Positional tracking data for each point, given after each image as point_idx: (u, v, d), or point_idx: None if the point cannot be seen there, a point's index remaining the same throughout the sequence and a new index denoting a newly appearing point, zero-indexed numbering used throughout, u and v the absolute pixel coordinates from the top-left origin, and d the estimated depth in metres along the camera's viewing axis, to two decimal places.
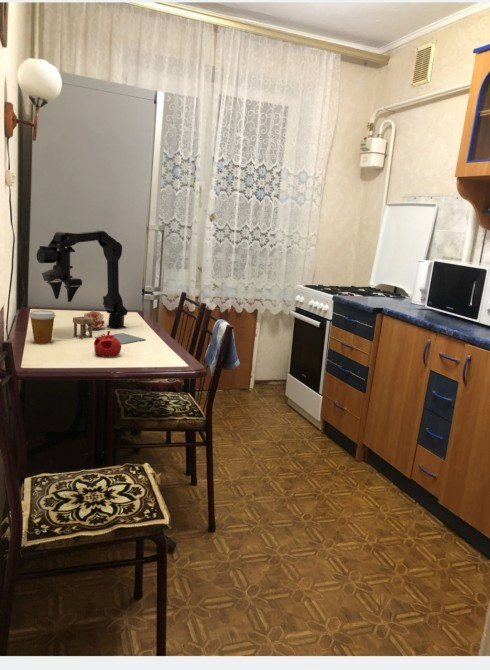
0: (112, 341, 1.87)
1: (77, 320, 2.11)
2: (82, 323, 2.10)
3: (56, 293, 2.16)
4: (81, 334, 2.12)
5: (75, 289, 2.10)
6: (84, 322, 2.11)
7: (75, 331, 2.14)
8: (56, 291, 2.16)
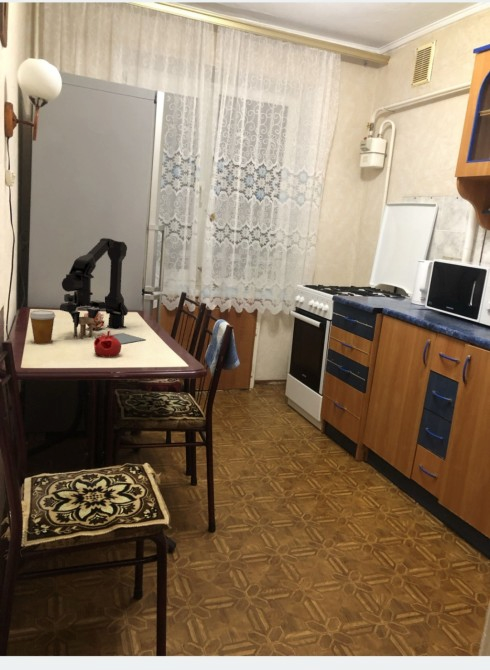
0: (112, 341, 1.87)
1: None
2: (82, 323, 2.10)
3: None
4: (81, 334, 2.12)
5: (75, 315, 2.09)
6: (84, 322, 2.11)
7: (75, 331, 2.14)
8: None
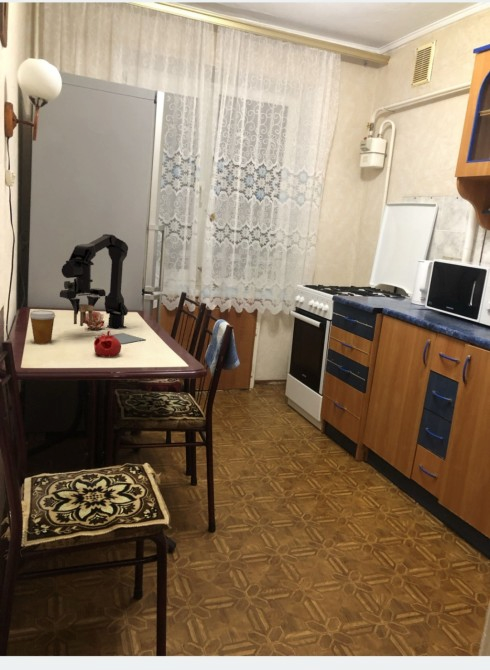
0: (112, 341, 1.87)
1: None
2: (82, 310, 2.09)
3: None
4: (81, 321, 2.10)
5: (75, 302, 2.07)
6: (84, 309, 2.10)
7: (75, 318, 2.13)
8: None
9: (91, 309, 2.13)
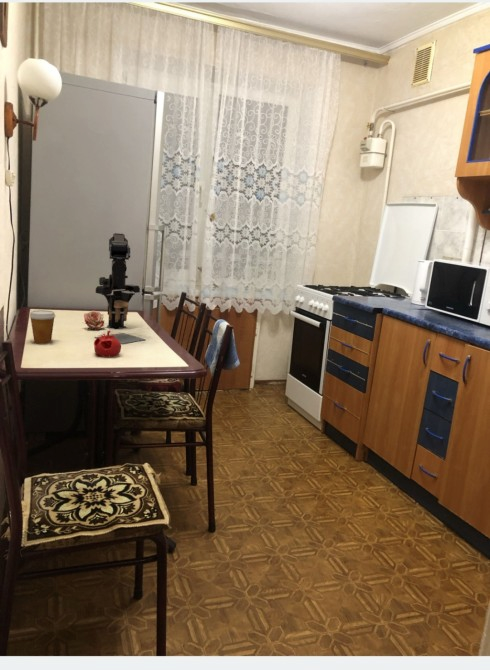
0: (112, 341, 1.87)
1: None
2: (117, 306, 2.10)
3: None
4: (116, 317, 2.11)
5: (110, 298, 2.08)
6: (119, 305, 2.10)
7: (110, 315, 2.13)
8: None
9: (126, 305, 2.13)
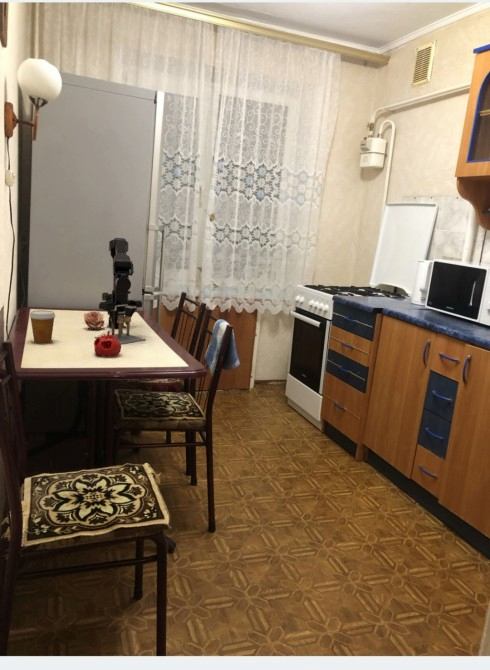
0: (112, 341, 1.87)
1: None
2: (120, 322, 2.11)
3: None
4: (119, 333, 2.12)
5: (114, 314, 2.09)
6: (122, 321, 2.12)
7: (113, 330, 2.15)
8: None
9: (129, 320, 2.15)
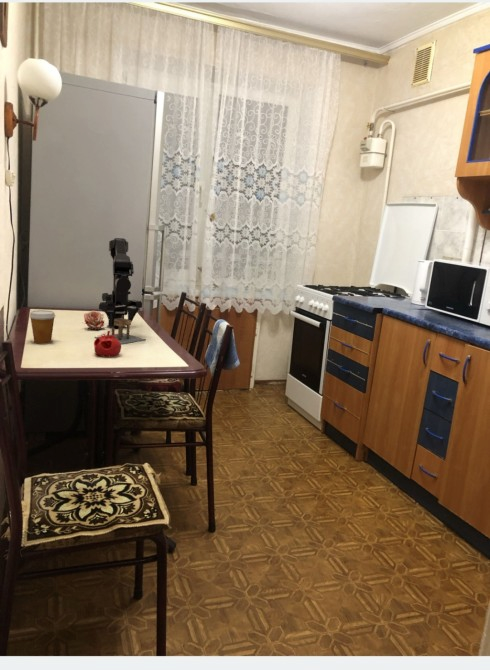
0: (112, 341, 1.87)
1: (115, 322, 2.12)
2: (120, 325, 2.11)
3: (128, 318, 2.18)
4: (119, 336, 2.12)
5: (111, 314, 2.08)
6: (122, 324, 2.12)
7: (113, 333, 2.15)
8: (129, 317, 2.18)
9: (129, 323, 2.15)
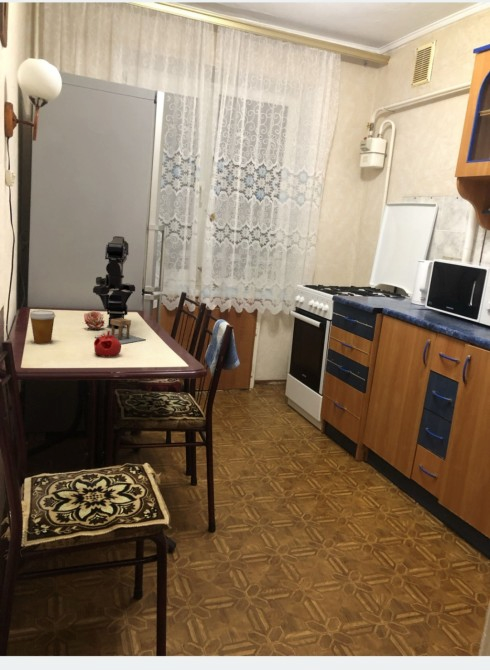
0: (112, 341, 1.87)
1: (115, 322, 2.12)
2: (120, 325, 2.11)
3: (122, 302, 2.24)
4: (119, 336, 2.12)
5: (105, 298, 2.14)
6: (122, 324, 2.12)
7: (113, 333, 2.15)
8: (123, 300, 2.24)
9: (129, 323, 2.15)
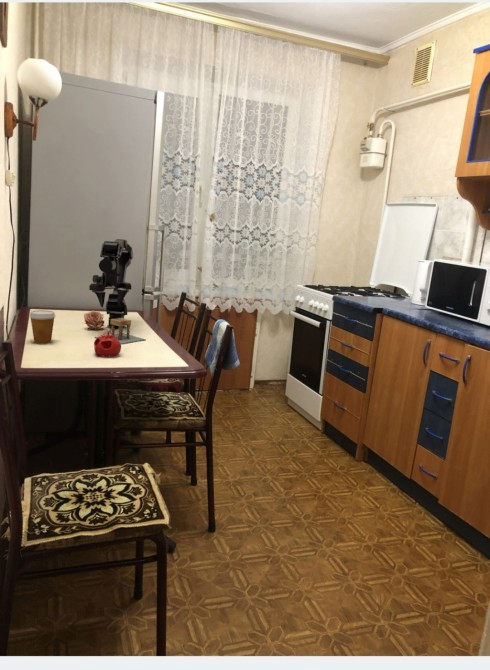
0: (112, 341, 1.87)
1: (115, 322, 2.12)
2: (120, 325, 2.11)
3: (118, 300, 2.27)
4: (119, 336, 2.12)
5: (101, 295, 2.17)
6: (122, 324, 2.12)
7: (113, 333, 2.15)
8: (119, 298, 2.27)
9: (129, 323, 2.15)
